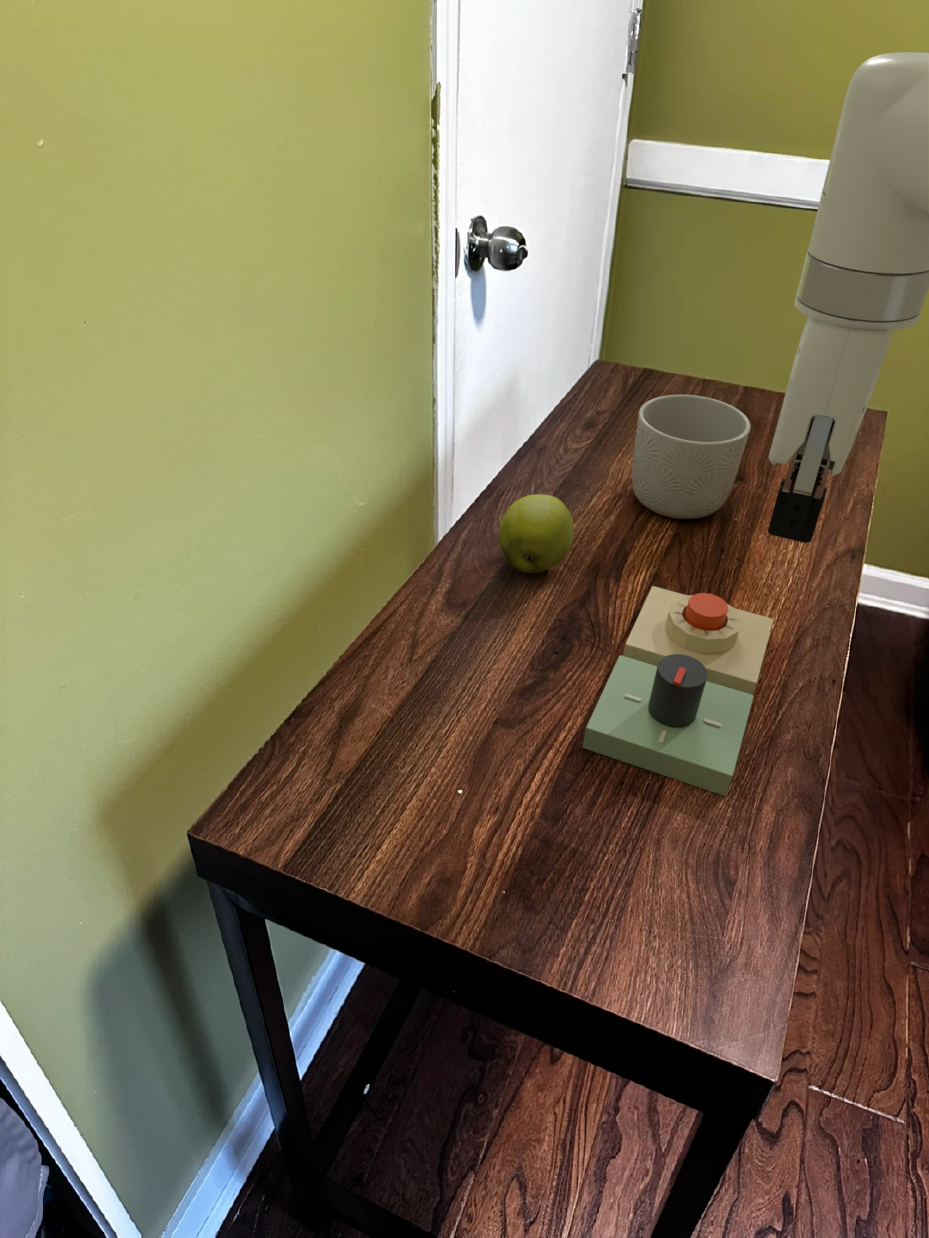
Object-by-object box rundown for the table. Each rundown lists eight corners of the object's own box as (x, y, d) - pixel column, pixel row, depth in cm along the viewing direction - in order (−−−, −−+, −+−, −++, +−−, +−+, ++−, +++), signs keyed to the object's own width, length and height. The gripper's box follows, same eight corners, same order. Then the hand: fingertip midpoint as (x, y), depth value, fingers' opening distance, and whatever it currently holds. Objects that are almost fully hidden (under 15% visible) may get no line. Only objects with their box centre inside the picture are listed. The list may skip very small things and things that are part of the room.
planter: (746, 525, 99) (770, 440, 93) (644, 533, 98) (661, 447, 91) (704, 472, 109) (723, 391, 102) (611, 478, 107) (624, 396, 100)
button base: (768, 636, 84) (778, 603, 81) (751, 700, 77) (762, 668, 74) (648, 602, 88) (655, 571, 85) (621, 661, 80) (628, 629, 78)
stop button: (727, 613, 81) (731, 599, 80) (719, 636, 78) (724, 621, 77) (689, 603, 82) (693, 588, 81) (680, 625, 79) (684, 610, 78)
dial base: (747, 715, 75) (754, 693, 74) (725, 796, 68) (733, 774, 67) (615, 674, 79) (619, 653, 77) (582, 748, 72) (586, 726, 70)
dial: (655, 688, 74) (665, 645, 71) (701, 703, 73) (713, 660, 70) (642, 717, 71) (652, 674, 68) (689, 734, 70) (701, 690, 67)
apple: (575, 547, 95) (583, 484, 90) (562, 595, 88) (570, 530, 83) (506, 536, 96) (510, 473, 91) (488, 582, 89) (492, 517, 84)
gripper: (814, 250, 61) (756, 480, 72) (783, 314, 50) (721, 572, 61) (928, 265, 58) (850, 500, 70) (922, 335, 48) (830, 599, 59)
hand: (790, 533), depth 65 cm, fingers closed
